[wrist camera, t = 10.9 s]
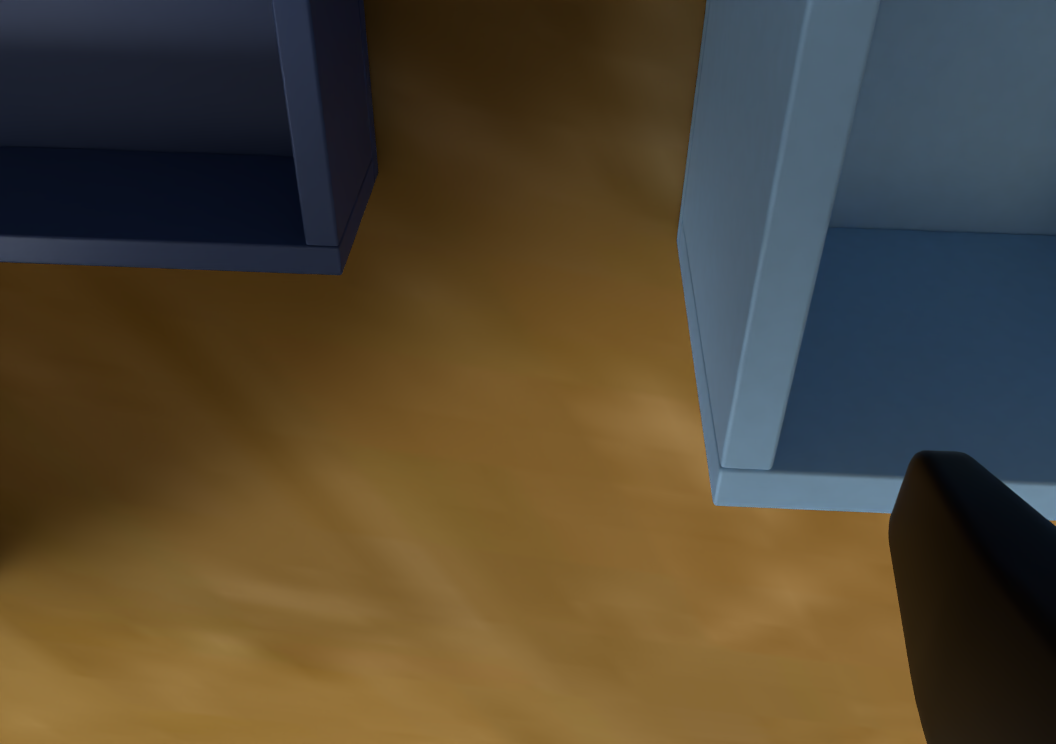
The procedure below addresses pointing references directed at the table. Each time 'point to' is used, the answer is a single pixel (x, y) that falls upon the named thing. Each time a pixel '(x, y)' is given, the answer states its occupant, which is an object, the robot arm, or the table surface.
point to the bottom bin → (185, 133)
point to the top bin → (872, 246)
